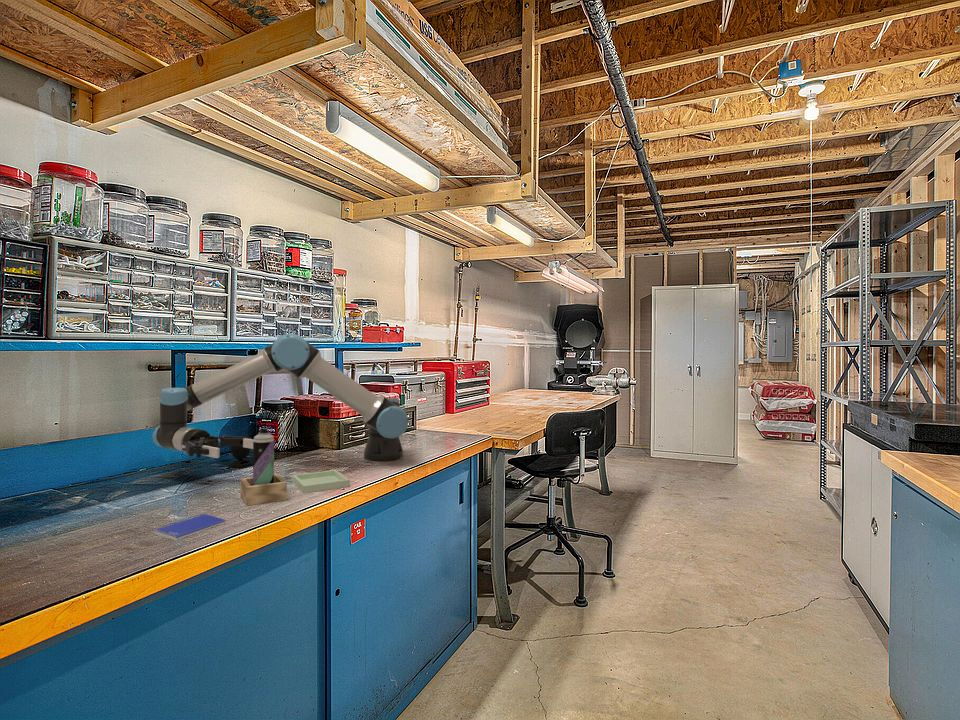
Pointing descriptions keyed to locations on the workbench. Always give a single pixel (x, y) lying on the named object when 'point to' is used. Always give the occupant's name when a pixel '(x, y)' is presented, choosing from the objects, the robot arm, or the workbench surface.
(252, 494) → the wooden storage crate
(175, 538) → the hard drive
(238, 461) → the webcam
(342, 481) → the tray
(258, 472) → the spray can
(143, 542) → the workbench surface
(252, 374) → the robot arm
